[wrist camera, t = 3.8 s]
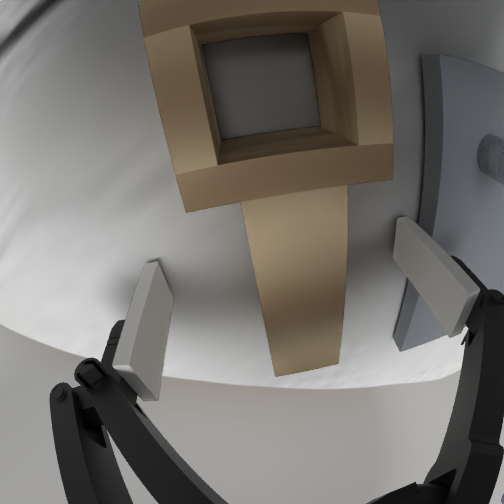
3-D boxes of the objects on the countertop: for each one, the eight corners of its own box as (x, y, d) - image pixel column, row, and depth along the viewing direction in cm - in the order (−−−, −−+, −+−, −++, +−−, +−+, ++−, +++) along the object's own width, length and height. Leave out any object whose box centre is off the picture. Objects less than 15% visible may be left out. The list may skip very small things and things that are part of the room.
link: (165, 26, 8) (138, 2, 5) (331, 7, 8) (373, -18, 5) (239, 328, 18) (243, 381, 14) (346, 307, 18) (367, 355, 14)
